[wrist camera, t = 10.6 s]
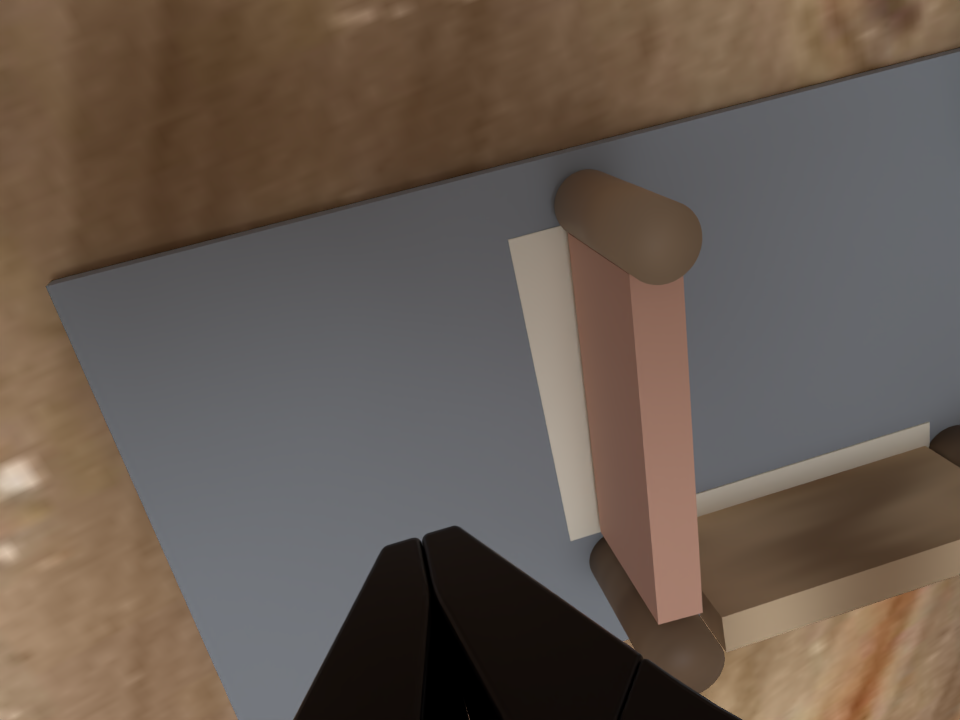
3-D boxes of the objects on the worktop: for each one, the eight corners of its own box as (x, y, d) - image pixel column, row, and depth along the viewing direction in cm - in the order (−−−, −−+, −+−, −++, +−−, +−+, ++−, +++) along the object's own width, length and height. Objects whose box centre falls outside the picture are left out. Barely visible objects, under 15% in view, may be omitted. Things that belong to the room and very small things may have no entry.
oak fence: (978, 417, 24) (1120, 494, 20) (976, 469, 25) (1114, 553, 21) (584, 540, 23) (648, 650, 19) (594, 591, 24) (658, 707, 19)
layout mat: (972, 44, 21) (989, 43, 20) (964, 517, 26) (976, 526, 26) (52, 280, 18) (45, 287, 18) (257, 746, 24) (256, 762, 23)
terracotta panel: (646, 520, 23) (720, 620, 19) (592, 534, 23) (655, 639, 19) (616, 163, 19) (700, 193, 15) (550, 175, 19) (617, 208, 15)
